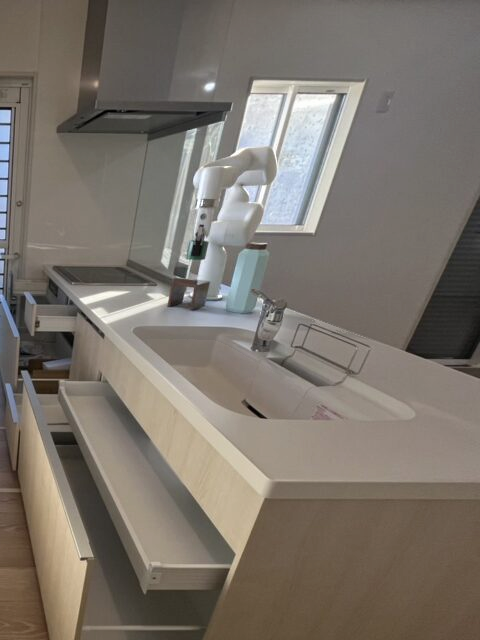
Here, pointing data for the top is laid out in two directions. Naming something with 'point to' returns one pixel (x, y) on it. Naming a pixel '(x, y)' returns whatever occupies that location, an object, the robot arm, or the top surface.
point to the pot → (203, 252)
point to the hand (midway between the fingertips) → (196, 254)
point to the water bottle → (247, 277)
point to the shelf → (179, 290)
